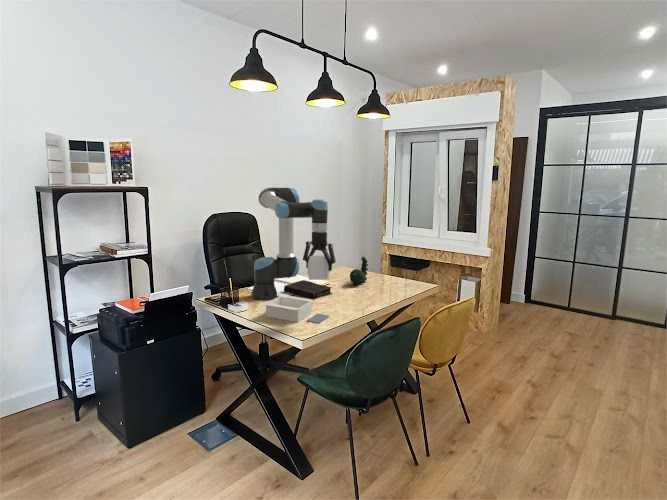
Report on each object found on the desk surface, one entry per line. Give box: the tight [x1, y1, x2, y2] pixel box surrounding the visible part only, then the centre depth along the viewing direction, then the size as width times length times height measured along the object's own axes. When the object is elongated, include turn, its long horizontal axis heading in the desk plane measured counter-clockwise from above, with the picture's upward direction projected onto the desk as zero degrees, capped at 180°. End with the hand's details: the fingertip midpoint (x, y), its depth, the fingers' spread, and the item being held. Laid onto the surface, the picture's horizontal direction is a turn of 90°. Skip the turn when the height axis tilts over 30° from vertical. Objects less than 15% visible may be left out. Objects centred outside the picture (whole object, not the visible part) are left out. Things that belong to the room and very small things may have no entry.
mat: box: [306, 313, 330, 324], centre depth 201 cm, size 7×12×1 cm, turn 156°
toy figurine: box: [349, 256, 369, 287], centre depth 271 cm, size 9×19×25 cm
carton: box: [262, 294, 314, 323], centre depth 205 cm, size 19×19×7 cm
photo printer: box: [308, 254, 330, 281], centre depth 196 cm, size 10×4×12 cm, turn 96°
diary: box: [283, 279, 334, 300], centre depth 247 cm, size 19×25×5 cm
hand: (318, 275), depth 197 cm, fingers closed on photo printer, 10 cm apart
